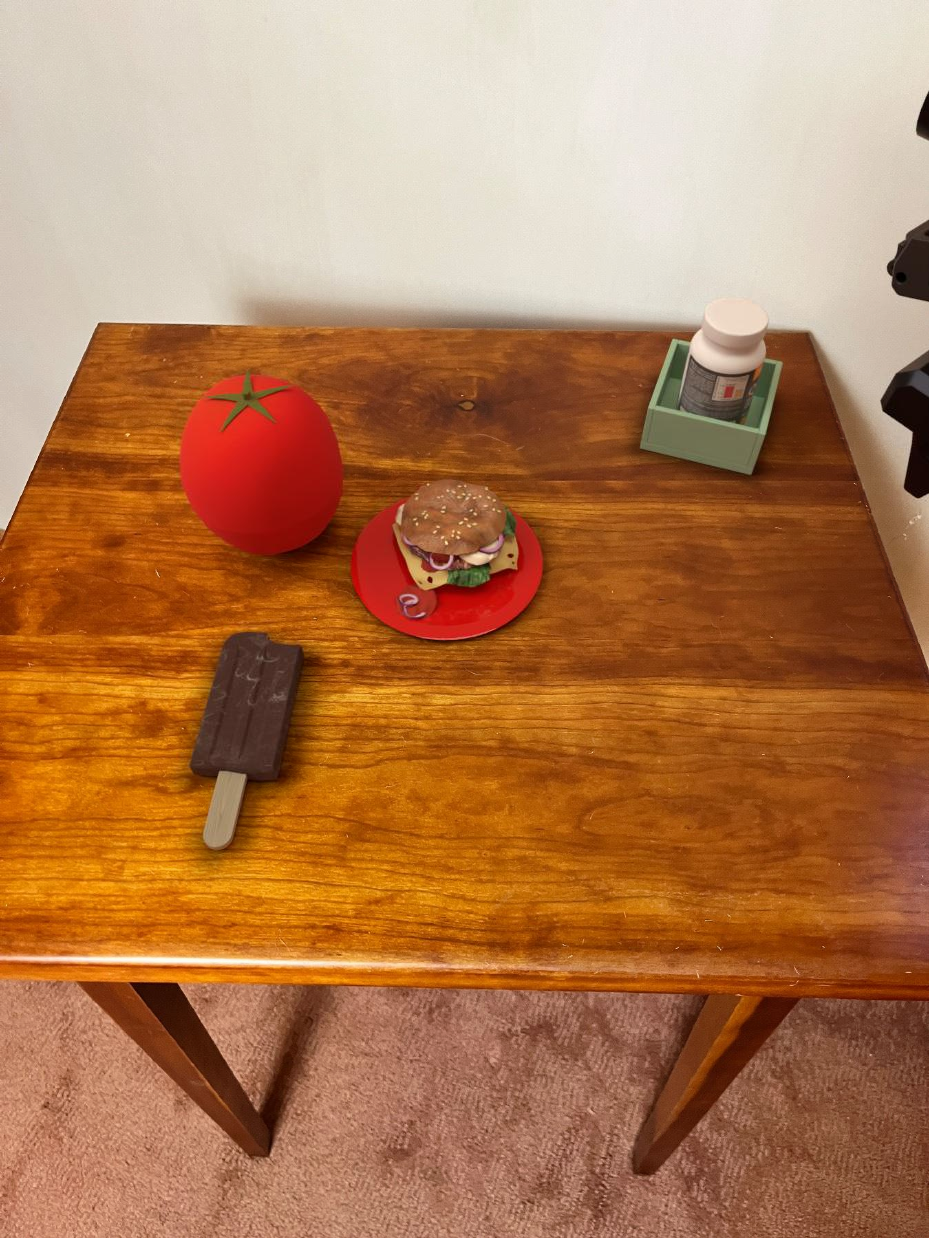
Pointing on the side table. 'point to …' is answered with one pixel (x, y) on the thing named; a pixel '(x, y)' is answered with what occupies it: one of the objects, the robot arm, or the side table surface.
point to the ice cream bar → (244, 724)
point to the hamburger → (447, 562)
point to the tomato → (261, 464)
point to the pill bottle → (724, 361)
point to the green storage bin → (707, 420)
